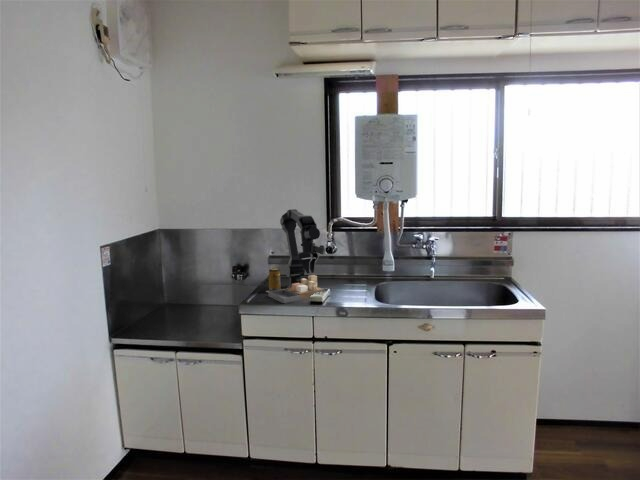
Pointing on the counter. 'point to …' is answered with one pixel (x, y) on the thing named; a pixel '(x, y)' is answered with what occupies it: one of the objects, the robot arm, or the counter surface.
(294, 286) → the tile terracotta
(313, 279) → the t-shaped wooden block
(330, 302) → the counter surface
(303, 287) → the tile cream
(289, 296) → the tray
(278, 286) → the condiment
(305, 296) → the plate
